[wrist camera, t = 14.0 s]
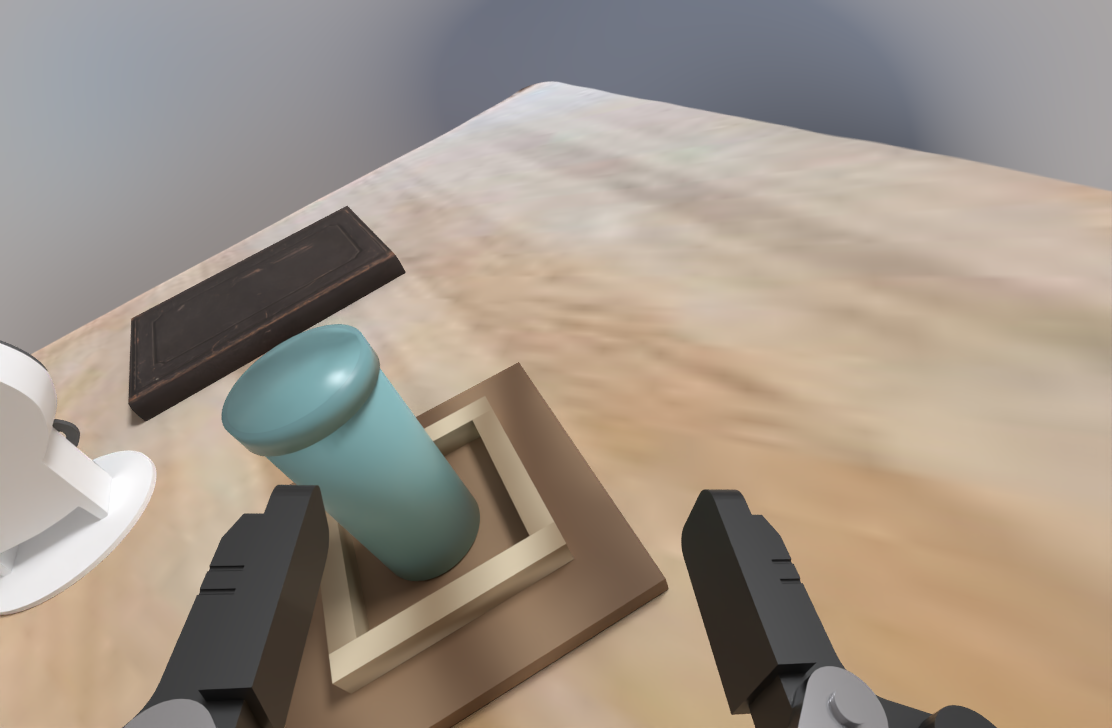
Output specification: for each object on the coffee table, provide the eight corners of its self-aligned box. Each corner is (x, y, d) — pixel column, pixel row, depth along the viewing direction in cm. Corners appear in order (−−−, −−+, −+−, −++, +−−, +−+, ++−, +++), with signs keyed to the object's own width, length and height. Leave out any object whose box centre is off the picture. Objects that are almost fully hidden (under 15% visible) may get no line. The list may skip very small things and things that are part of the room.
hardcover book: (149, 336, 53) (130, 318, 52) (358, 224, 59) (347, 205, 57) (151, 426, 42) (127, 407, 40) (408, 277, 48) (396, 256, 46)
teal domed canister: (466, 464, 29) (355, 305, 21) (498, 545, 25) (375, 383, 17) (373, 516, 28) (226, 370, 21) (390, 608, 24) (215, 466, 17)
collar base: (523, 373, 34) (511, 346, 32) (668, 588, 22) (660, 562, 21) (283, 502, 32) (257, 480, 30) (305, 819, 20) (265, 809, 18)
